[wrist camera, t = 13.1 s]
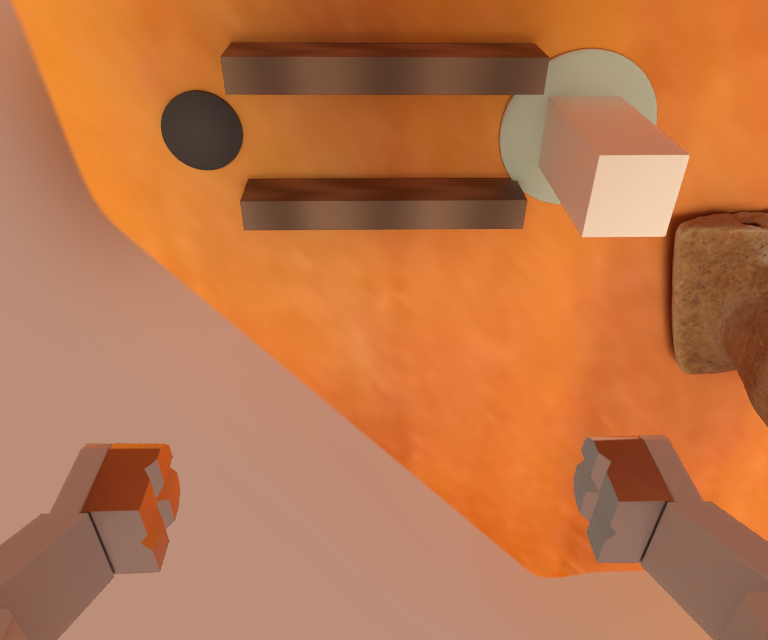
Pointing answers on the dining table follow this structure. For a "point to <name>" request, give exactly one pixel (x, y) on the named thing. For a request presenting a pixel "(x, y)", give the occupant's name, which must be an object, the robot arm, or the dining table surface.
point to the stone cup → (723, 299)
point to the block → (610, 166)
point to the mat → (566, 78)
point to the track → (383, 77)
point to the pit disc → (201, 130)
